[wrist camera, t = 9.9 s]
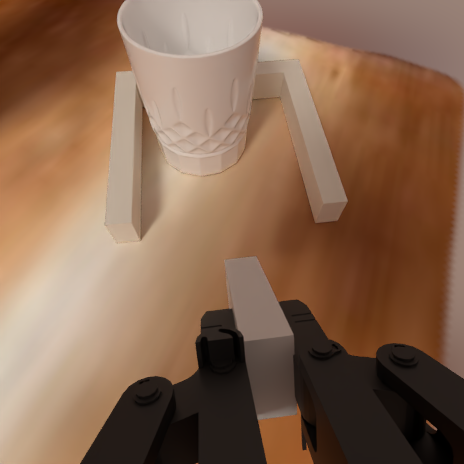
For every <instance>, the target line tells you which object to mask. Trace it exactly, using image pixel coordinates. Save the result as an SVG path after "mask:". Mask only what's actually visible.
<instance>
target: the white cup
mask: <svg viewBox="0 0 464 464" xmlns="http://www.w3.org/2000/svg"><path fill="white" fill-rule="evenodd" d="M262 21H263V12H262V8H261V5H260V3H259V2H258V0H125V1H124V2H123V4H122V5H121V7H120V9H119V11H118V15H117V25H118V28H119V31H120V34H121V37H122V40H123V43H124V46H125V49H126V52H127V55H128V58H129V61H130V64H131V67H132V71H133V74H134V77H135V80H136V83H137V86H138V89H139V92H140V95H141V98H142V100H143V103H144V106H145V109H146V112H147V114H148V117H149V120H150V123H151V126H152V129H153V131H154V133H155V134H156V137H157V140H158V143H159V147H160V149H161V151H162V153H163V155H164V157H165V159H166V161H167V163H168V164H170V165H171V166H173V167H174V168H176V169H177V170H179V171H180V172H182V173H186V174H192V175H198V176H206V175H211V174H216V173H221V172H223V171H224V170H226V169H228V168H229V167H231V166H232V165H234V164H236V163H237V161H238V160H239V158H240V156H241V155H242V153H243V151H244V150H245V143H246V133H247V125H248V122H249V118H250V113H251V106H252V99H253V93H254V86H255V78H256V70H257V61H258V53H259V44H260V36H261V28H262Z"/></svg>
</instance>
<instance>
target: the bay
mask: <svg viewBox="0 0 464 464" xmlns="http://www.w3.org/2000/svg"><path fill="white" fill-rule="evenodd" d="M275 97H280V99H281V103H282V106H283V110H284V113H285V117H286V121H287V124H288V128H289V131H290V135H291V139H292V142H293V146H294V149H295V153H296V157H297V160H298V164H299V167H300V171H301V175H302V178H303V182H304V185H305V189H306V192H307V196H308V200H309V203H310V207H311V210H312V214H313V218H314V221H315V223H321V222H331V221H338V219H339V217H340V215H341V213H342V211H343V210H344V208H345V206H346V204H347V202H348V200H347V197H346V194H345V191H344V188H343V186H342V183H341V180H340V177H339V174H338V171H337V168H336V165H335V162H334V160H333V157H332V154H331V151H330V148H329V145H328V142H327V139H326V136H325V134H324V131H323V128H322V125H321V122H320V119H319V116H318V113H317V111H316V108H315V105H314V102H313V99H312V96H311V93H310V90H309V87H308V85H307V82H306V79H305V76H304V73H303V70H302V67H301V64H300V61H299V59H293V60H279V61H265V62H257V70H256V78H255V86H254V93H253V99H262V98H275ZM142 108H145V106H144V103H143V100H142V98H141V95H140V92H139V89H138V86H137V83H136V80H135V77H134V74H133V71H123V72H116V82H115V96H114V109H113V122H112V136H111V149H110V163H109V176H108V189H107V203H106V216H105V226H106V228H107V229H108V231H109V232H110V234H111V236H112V237H113V239H114V240H115V242H116V243H124V242H134V241H141V177H142Z"/></svg>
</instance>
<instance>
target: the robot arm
mask: <svg viewBox="0 0 464 464" xmlns="http://www.w3.org/2000/svg"><path fill="white" fill-rule="evenodd" d="M224 261H225V272H226V282H227V292H228V302H229V309H223V310H215V311H207V312H206V313H205V314H204V316H203V317H202V318H201V334H200V335H199V336H198V337H197V339H196V342H195V344H196V351H197V359H198V367H199V369H198V370H197V371H196V372H195V374H194V375H192V376H191V377H190V378H188V379H186V380H184V381H182V382H180V383H177V384H174V385H172V383H171V382H170V381H169V380H167V379H166V378H163V377H158V376H154V377H147V378H144V379H141V380H138V381H137V382H135V383H133V384H132V385H130V386H129V387H128V388H127V390H126V391H125V392H124V393H123V395H122V396H121V398H120V399H119V401H118V403H117V404H116V406H115V408H114V409H113V411H112V412H111V414H110V416H109V417H108V419H107V421H106V422H105V424H104V426H103V427H102V429H101V430H100V432H99V434H98V435H97V437H96V439H95V440H94V442H93V444H92V445H91V447H90V448H89V450H88V452H87V453H86V455H85V457H84V458H83V460H82V461H81V463H80V464H196V463H198V464H267V462H266V458H265V453H264V448H263V443H262V438H261V433H260V429H259V424H258V420H261V419H268V418H275V417H282V416H289V415H296V414H297V403H298V406H299V409H300V411H301V430H302V448H303V450H307V449H306V442H307V445H308V448H309V451H310V454H311V457H312V460H313V462H314V464H464V379H463V378H461V377H460V376H458V375H457V374H455V373H454V372H452V371H451V370H449V369H448V368H446V367H445V366H443V365H442V364H440V363H439V362H437V361H436V360H434V359H433V358H431V357H430V356H428V355H427V354H425V353H424V352H422V351H421V350H419V349H417V348H415V347H412V346H408V345H405V344H396V343H392V344H386V345H383V346H382V347H380V348H379V349H378V351H377V353H376V358H369V357H359V356H352V355H349V354H348V353H347V352H346V350H345V349H344V348H343V347H342V346H341V345H340V344H339V343H337V342H334V341H332V340H328V338H327V336H326V335H325V333H324V332H323V330H322V329H321V327H320V325H319V324H318V322H317V321H316V320H315V318H314V316H313V314H311V311H310V310H309V308H308V307H307V305H305V304H304V303H302V302H300V301H299V300H289V301H281V302H278V301H277V299H276V296H275V294H274V292H273V290H272V288H271V286H270V284H269V282H268V280H267V278H266V275H265V273H264V271H263V269H262V267H261V265H260V263H259V261H258V259H257V256H253V257H244V258H235V259H226V260H224ZM296 401H297V402H296ZM426 419H427V420H428V421H429V422H430V423H431V424H432V425H433V426H435V427H436V428H437V431H436V430H434V429H433V428H431V427H430V426H429V425H428V424H427V423H426Z"/></svg>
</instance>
